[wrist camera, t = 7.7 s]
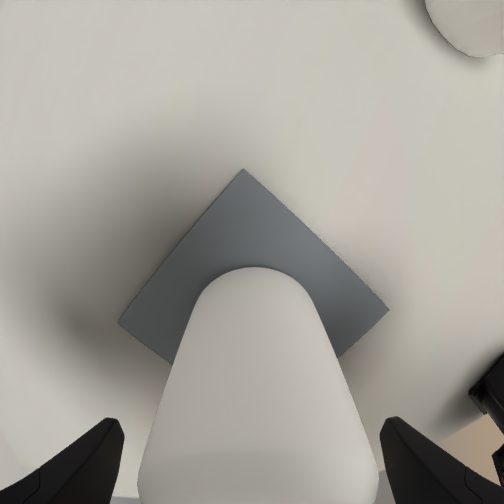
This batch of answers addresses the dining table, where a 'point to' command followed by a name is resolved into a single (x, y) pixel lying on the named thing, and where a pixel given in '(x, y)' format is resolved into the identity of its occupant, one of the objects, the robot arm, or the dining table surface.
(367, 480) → the can
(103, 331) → the dining table surface
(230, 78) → the dining table surface
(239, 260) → the slate mat
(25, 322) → the dining table surface
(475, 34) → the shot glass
